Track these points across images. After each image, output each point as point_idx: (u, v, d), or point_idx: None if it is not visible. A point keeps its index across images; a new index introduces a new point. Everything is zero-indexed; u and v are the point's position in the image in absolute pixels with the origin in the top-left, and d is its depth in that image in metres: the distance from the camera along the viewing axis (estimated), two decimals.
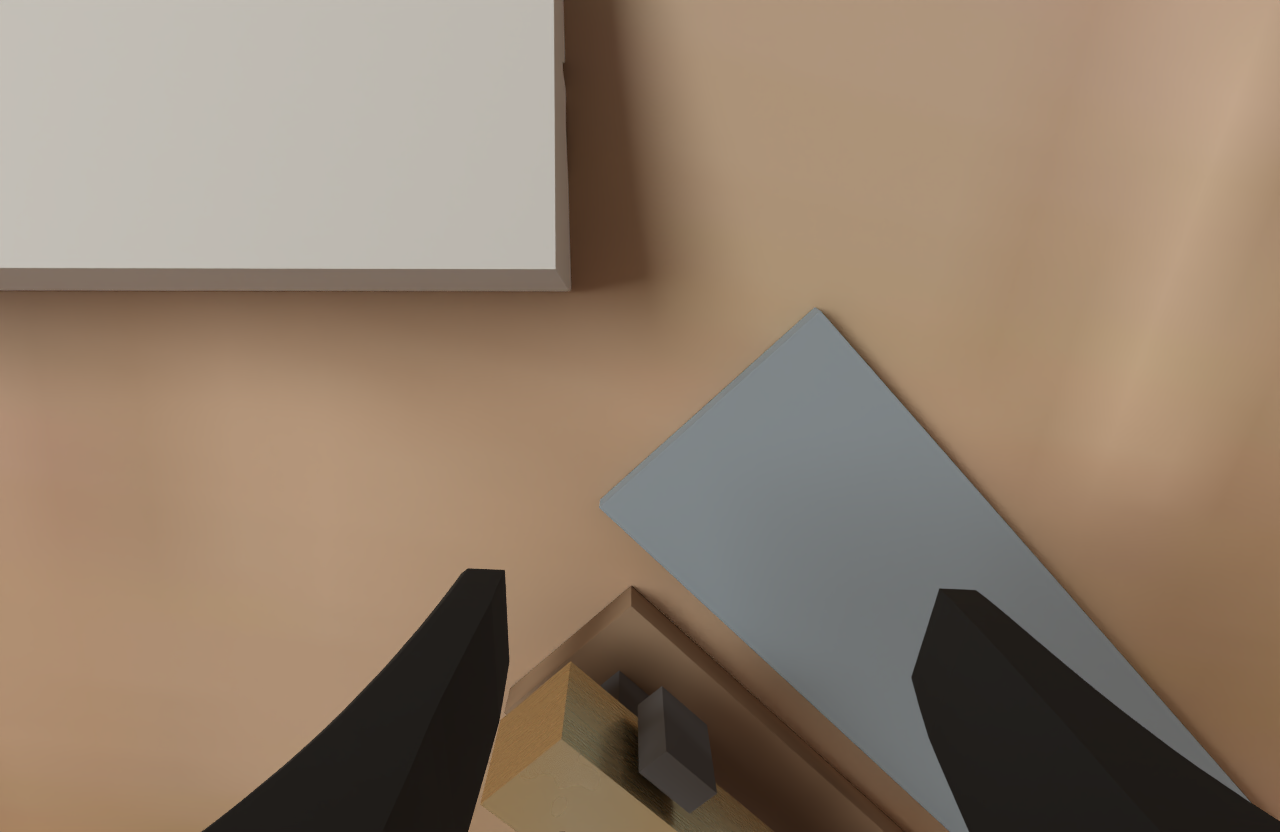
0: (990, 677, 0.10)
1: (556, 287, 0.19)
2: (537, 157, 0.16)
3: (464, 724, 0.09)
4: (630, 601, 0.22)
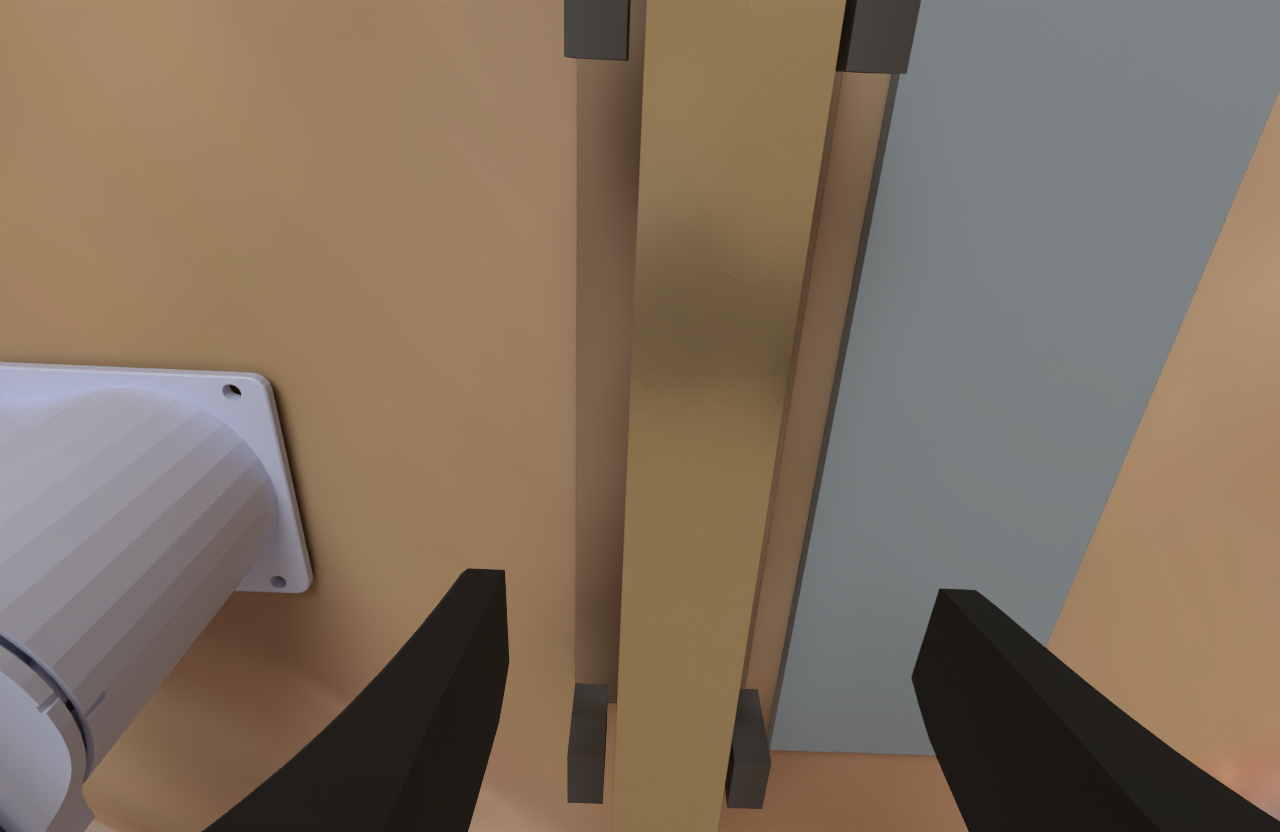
0: (990, 677, 0.10)
1: None
2: None
3: (464, 724, 0.09)
4: None
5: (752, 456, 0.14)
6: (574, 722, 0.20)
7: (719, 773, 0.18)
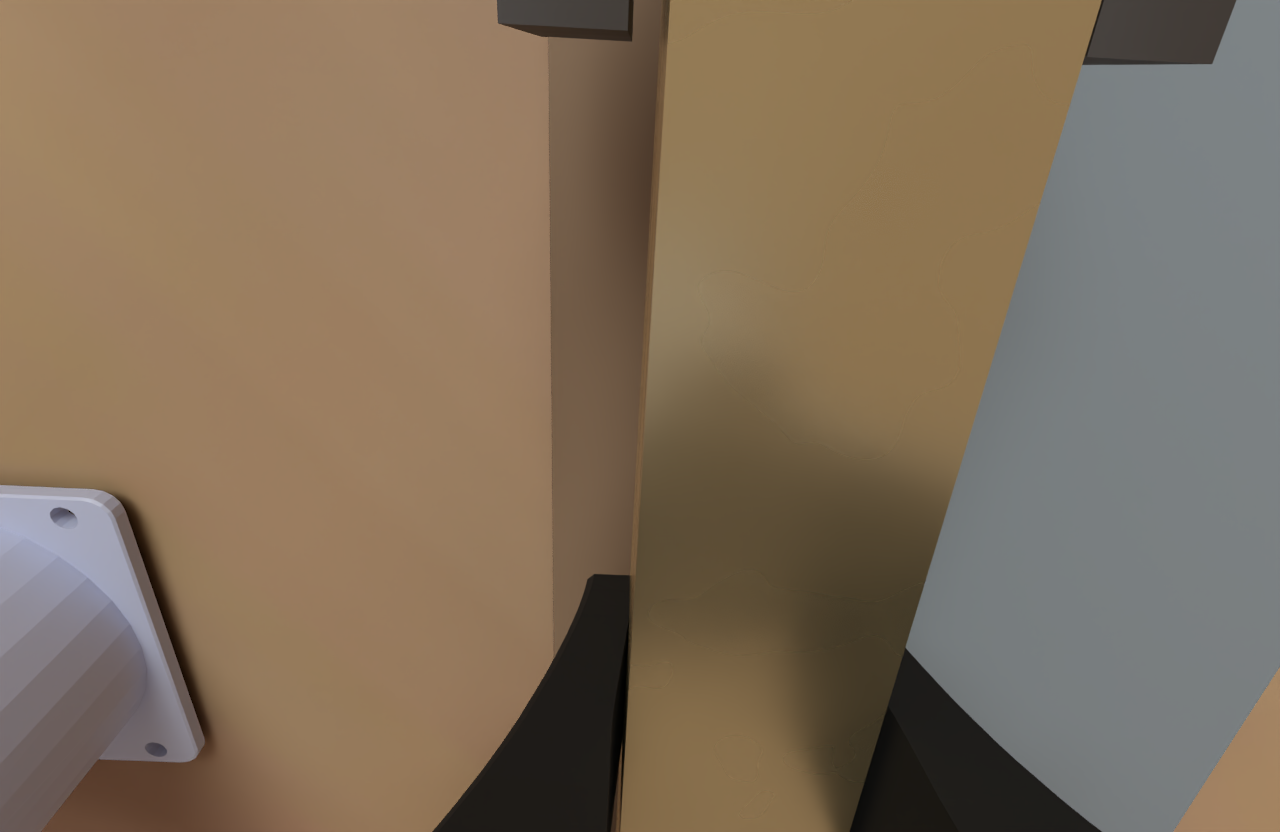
0: None
1: None
2: None
3: (617, 730, 0.09)
4: None
5: (842, 725, 0.08)
6: None
7: None
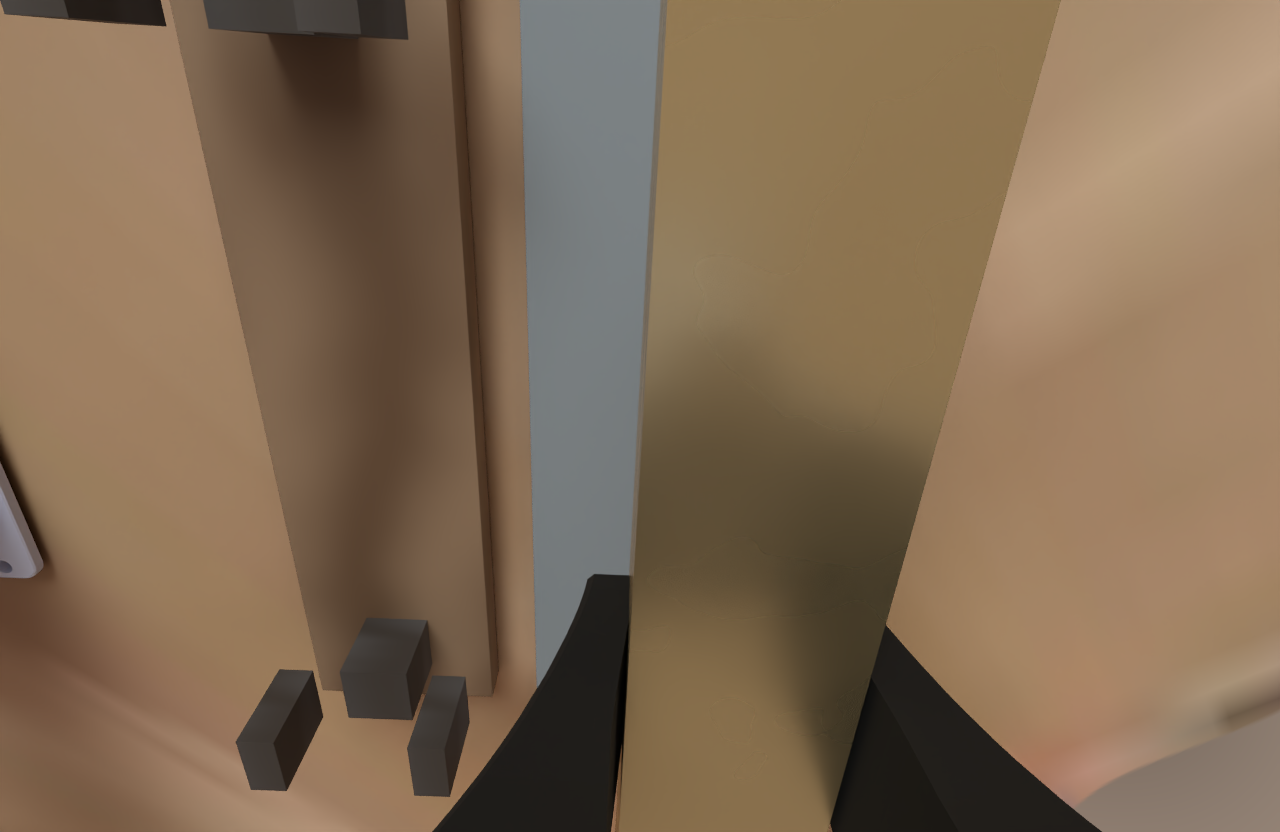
0: None
1: None
2: None
3: (617, 730, 0.09)
4: None
5: (831, 688, 0.09)
6: (259, 708, 0.20)
7: None
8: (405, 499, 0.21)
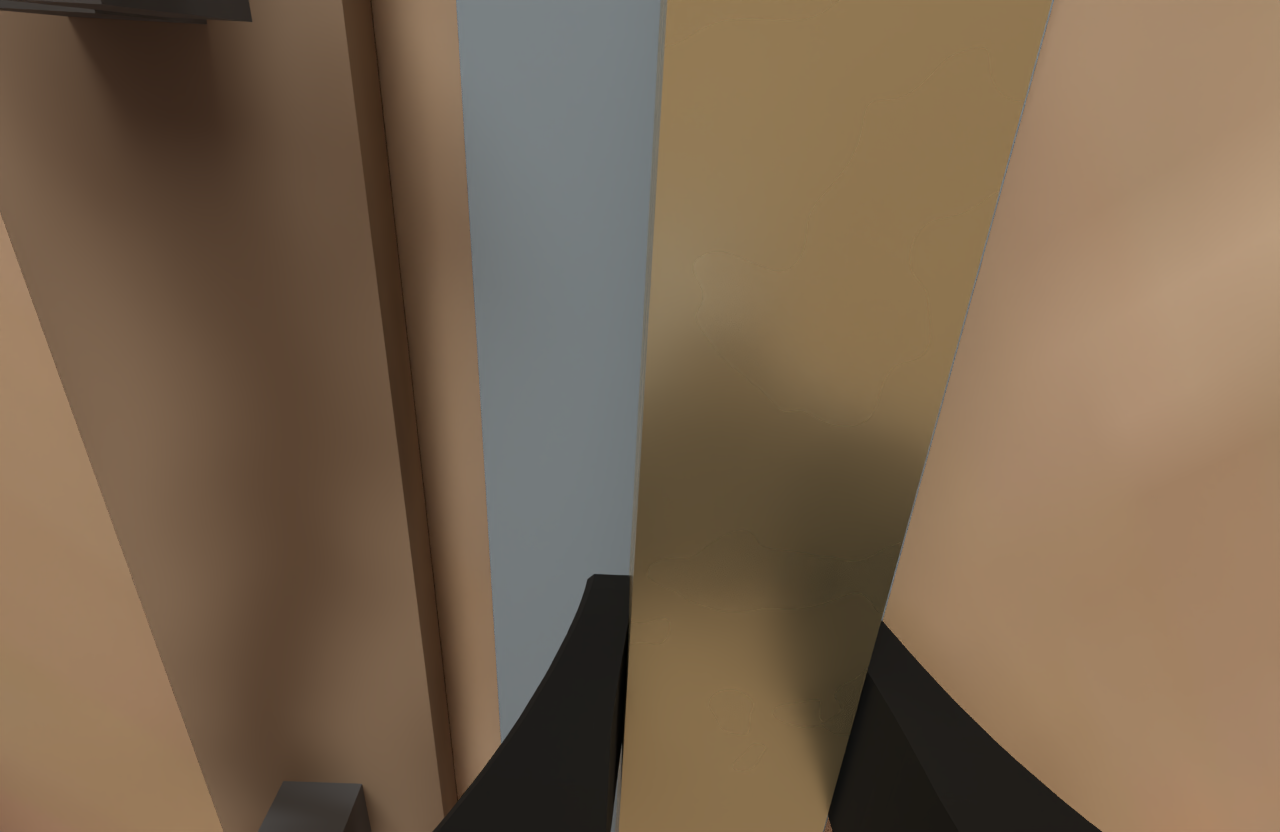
0: None
1: None
2: None
3: (617, 730, 0.09)
4: None
5: (828, 679, 0.09)
6: None
7: None
8: (323, 645, 0.16)
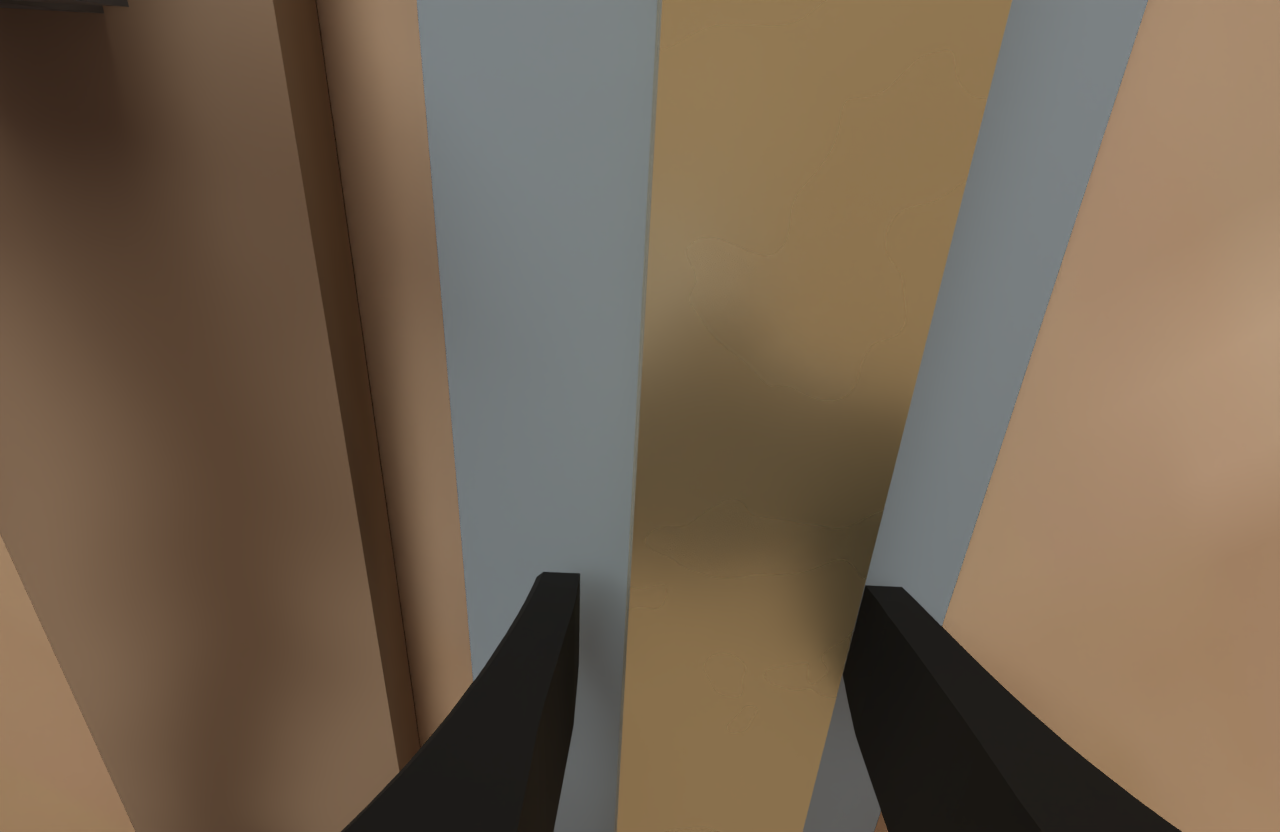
0: (904, 673, 0.10)
1: None
2: None
3: (555, 728, 0.09)
4: None
5: (816, 644, 0.09)
6: None
7: None
8: (279, 728, 0.14)
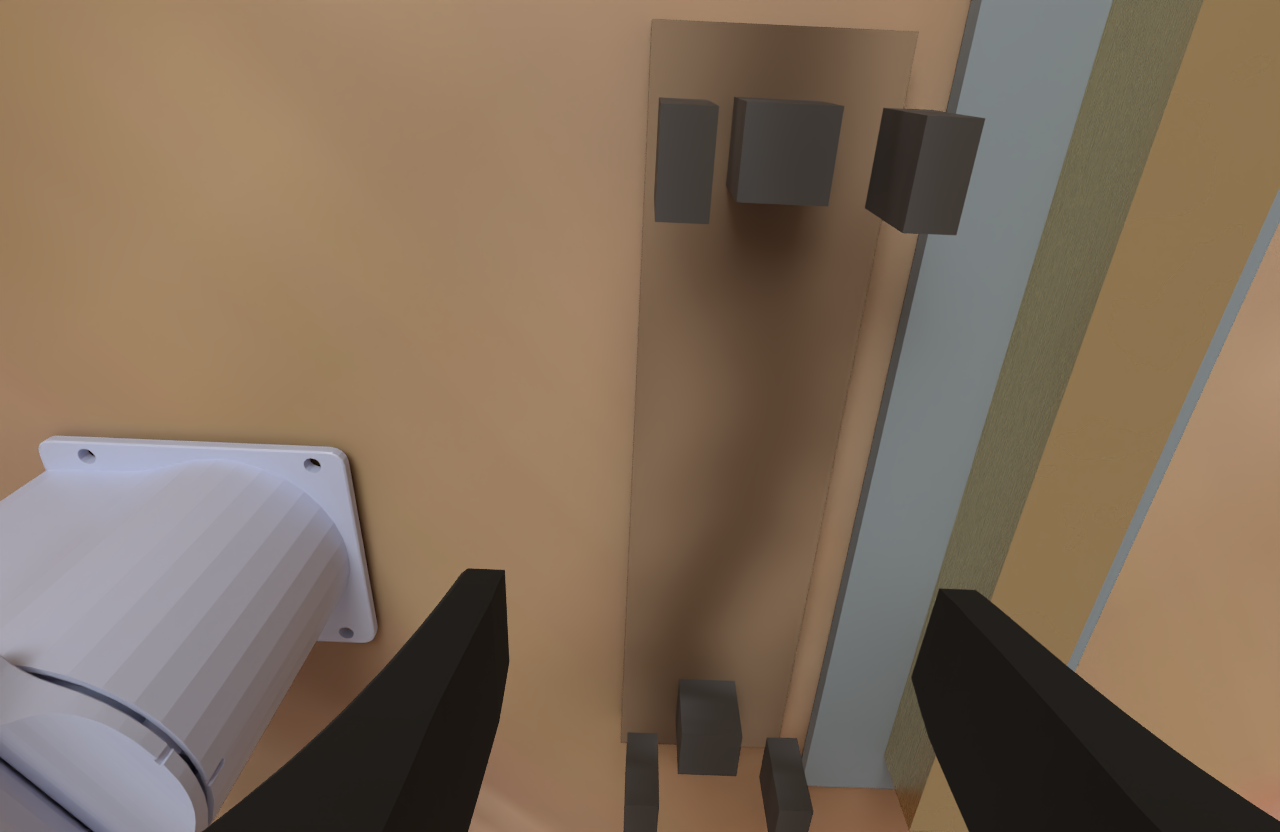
0: (990, 677, 0.10)
1: None
2: None
3: (464, 724, 0.09)
4: (911, 32, 0.16)
5: (1124, 497, 0.18)
6: (629, 771, 0.21)
7: None
8: (743, 576, 0.23)
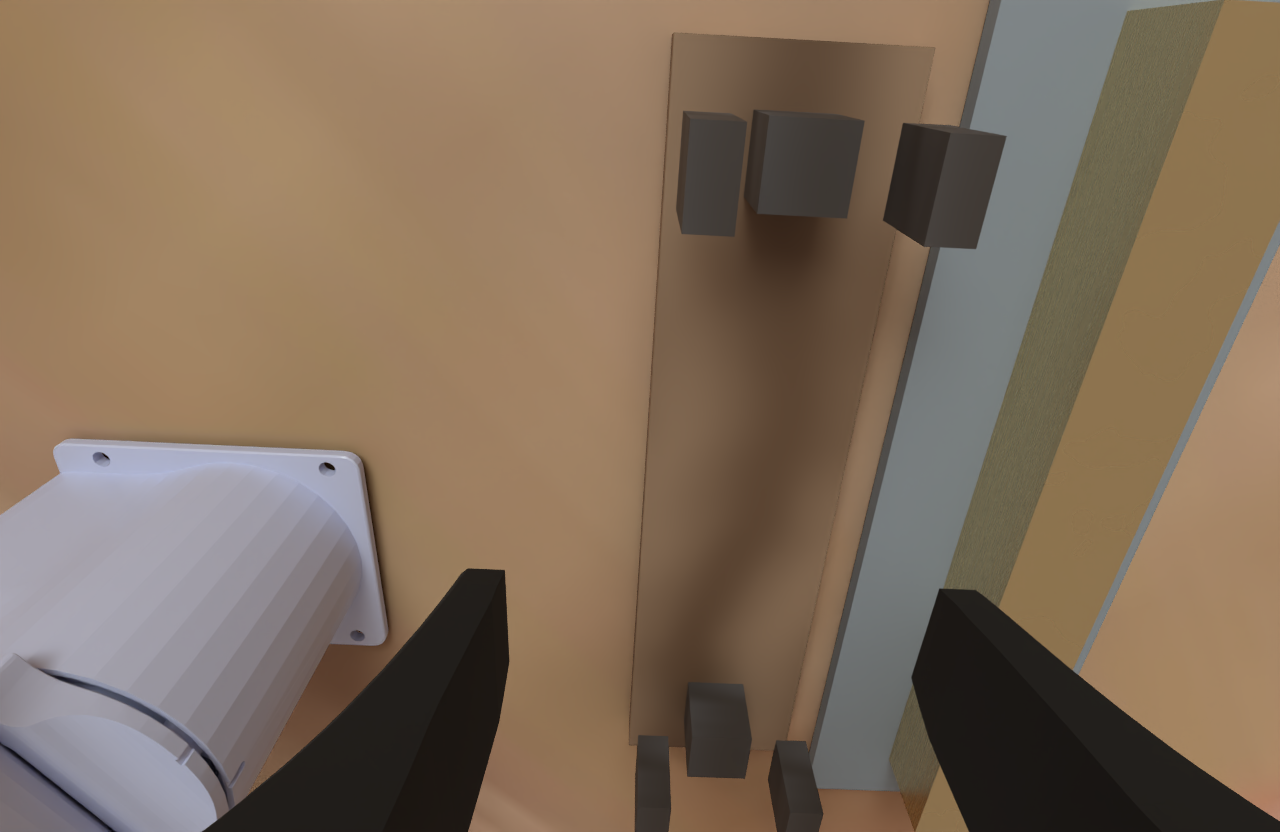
0: (990, 677, 0.10)
1: None
2: None
3: (464, 724, 0.09)
4: (927, 47, 0.16)
5: (1132, 504, 0.18)
6: (641, 774, 0.22)
7: None
8: (753, 580, 0.23)
